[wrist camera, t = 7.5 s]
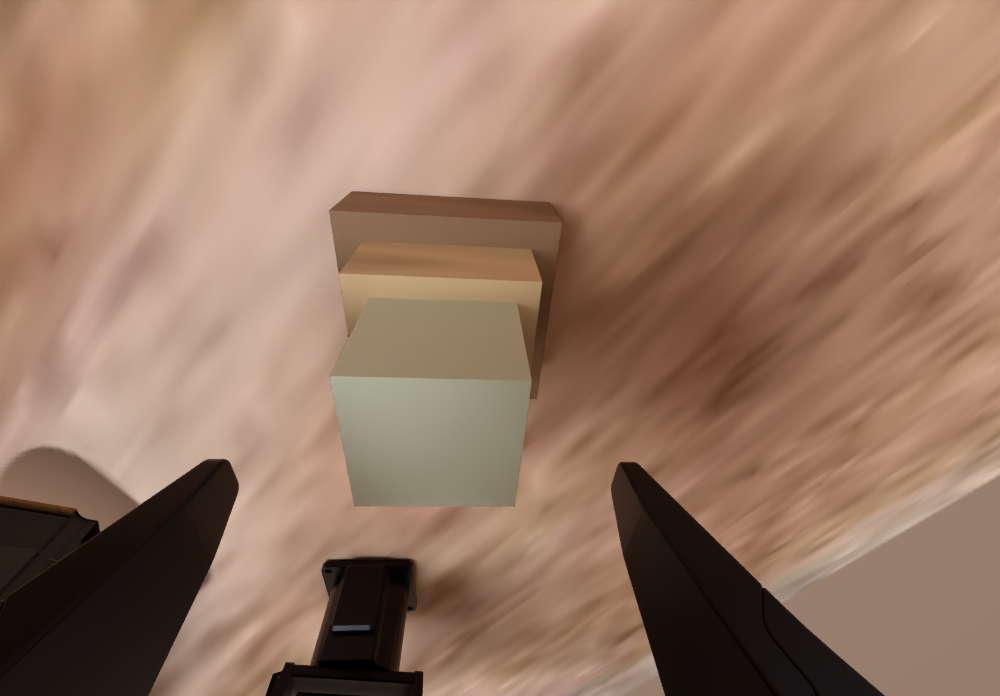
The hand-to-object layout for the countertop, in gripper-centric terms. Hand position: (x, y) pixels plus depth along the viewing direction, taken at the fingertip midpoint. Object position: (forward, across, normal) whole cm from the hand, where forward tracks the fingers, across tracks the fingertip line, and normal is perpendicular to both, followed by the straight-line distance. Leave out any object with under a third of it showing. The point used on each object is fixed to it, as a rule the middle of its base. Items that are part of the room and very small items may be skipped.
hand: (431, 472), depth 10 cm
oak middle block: (+8, 0, 0) cm, 8 cm away
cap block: (+5, 0, 0) cm, 5 cm away
